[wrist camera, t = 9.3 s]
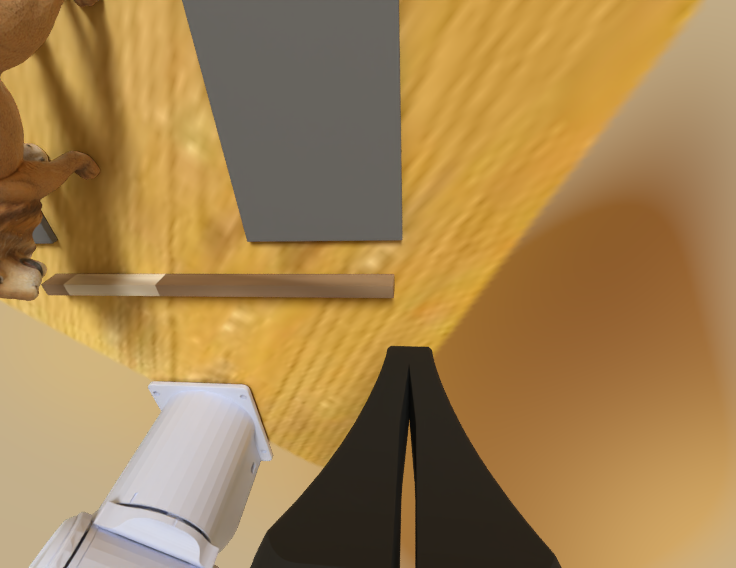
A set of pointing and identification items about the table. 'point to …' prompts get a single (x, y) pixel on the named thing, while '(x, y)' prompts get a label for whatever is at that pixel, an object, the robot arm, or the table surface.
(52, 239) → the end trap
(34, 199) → the lion figurine
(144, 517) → the robot arm
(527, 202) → the table surface
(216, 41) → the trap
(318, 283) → the wooden sticks
